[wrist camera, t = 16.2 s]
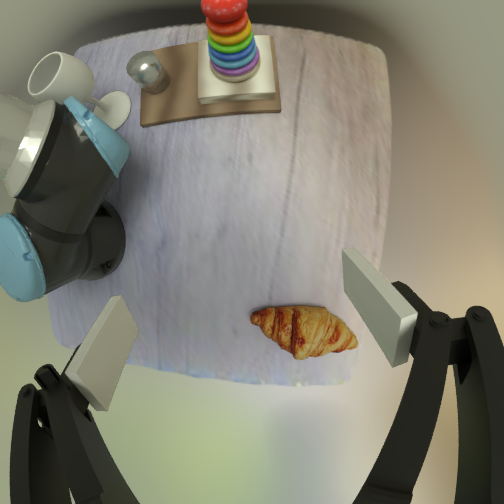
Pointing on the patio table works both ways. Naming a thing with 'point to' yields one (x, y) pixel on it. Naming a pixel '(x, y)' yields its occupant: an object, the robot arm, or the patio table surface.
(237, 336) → the patio table surface
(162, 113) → the board
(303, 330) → the croissant
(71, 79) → the wineglass
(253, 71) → the stacking toy
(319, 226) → the patio table surface
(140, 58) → the grey brown short cylinder
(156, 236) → the patio table surface
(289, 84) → the patio table surface
